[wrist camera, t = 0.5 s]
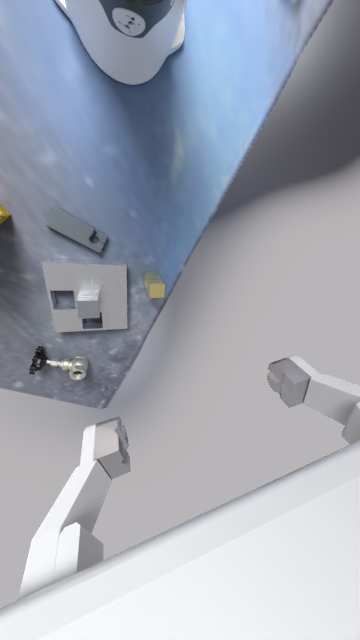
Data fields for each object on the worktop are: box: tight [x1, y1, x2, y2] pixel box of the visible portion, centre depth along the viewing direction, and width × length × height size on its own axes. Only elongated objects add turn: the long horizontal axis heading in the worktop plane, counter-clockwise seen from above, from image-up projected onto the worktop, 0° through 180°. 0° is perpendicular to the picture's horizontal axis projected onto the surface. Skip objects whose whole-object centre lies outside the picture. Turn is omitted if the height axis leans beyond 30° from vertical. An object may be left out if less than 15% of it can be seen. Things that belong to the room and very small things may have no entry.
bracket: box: [46, 206, 108, 253], centre depth 41 cm, size 4×10×2 cm, turn 57°
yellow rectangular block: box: [144, 273, 165, 298], centre depth 47 cm, size 3×3×8 cm
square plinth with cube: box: [41, 259, 127, 332], centre depth 45 cm, size 16×16×8 cm
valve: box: [29, 346, 88, 380], centre depth 51 cm, size 7×7×12 cm
